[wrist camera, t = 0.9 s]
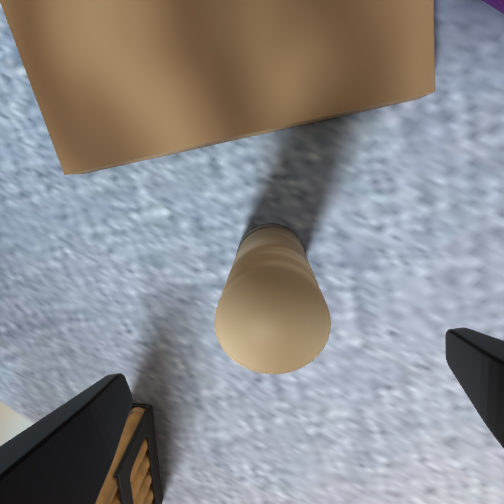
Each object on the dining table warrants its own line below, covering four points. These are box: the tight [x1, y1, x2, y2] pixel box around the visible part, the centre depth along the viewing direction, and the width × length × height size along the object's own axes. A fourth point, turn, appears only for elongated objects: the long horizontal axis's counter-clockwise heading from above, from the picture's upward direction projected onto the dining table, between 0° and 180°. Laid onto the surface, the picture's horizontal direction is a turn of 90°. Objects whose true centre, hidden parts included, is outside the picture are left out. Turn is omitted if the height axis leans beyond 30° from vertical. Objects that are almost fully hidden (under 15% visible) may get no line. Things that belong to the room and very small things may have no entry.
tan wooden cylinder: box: [215, 224, 331, 374], centre depth 13 cm, size 4×4×8 cm
